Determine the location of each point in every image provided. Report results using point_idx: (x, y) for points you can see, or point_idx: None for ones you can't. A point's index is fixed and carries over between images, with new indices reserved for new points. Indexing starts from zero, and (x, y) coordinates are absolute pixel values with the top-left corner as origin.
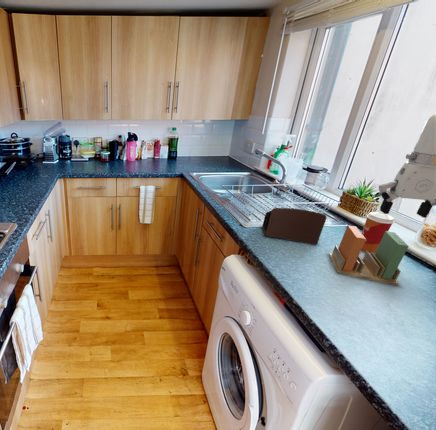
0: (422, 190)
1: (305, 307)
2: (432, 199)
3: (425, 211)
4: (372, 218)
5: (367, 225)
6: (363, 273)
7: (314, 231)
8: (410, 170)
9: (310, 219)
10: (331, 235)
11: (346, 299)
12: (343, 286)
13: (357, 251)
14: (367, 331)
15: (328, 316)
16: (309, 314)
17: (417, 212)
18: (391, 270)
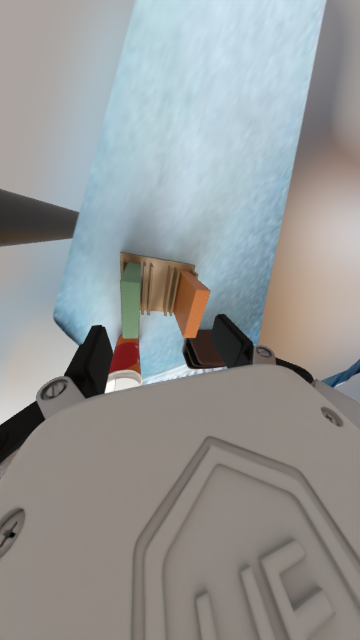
0: (208, 485)
1: (295, 137)
2: (79, 404)
3: (98, 344)
4: (138, 376)
5: (139, 366)
6: (163, 268)
7: (199, 342)
8: None
9: (213, 353)
10: (158, 357)
11: (219, 182)
12: (204, 226)
13: (191, 280)
14: (242, 49)
15: (278, 107)
16: (303, 109)
17: (111, 355)
18: (132, 266)
